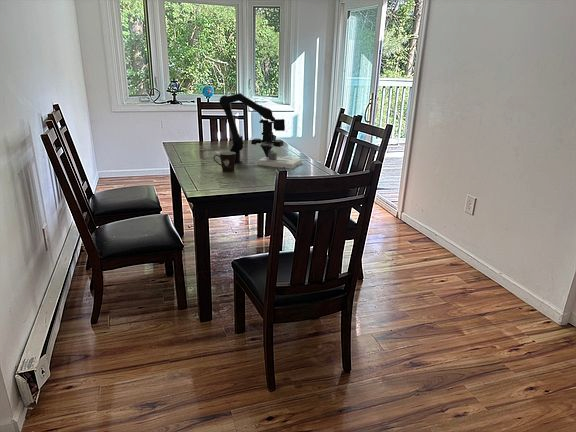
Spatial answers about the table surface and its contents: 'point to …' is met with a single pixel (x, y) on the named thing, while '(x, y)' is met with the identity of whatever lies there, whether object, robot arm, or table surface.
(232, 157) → the coffee mug
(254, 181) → the table surface
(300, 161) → the console
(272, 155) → the fader front
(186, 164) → the table surface
